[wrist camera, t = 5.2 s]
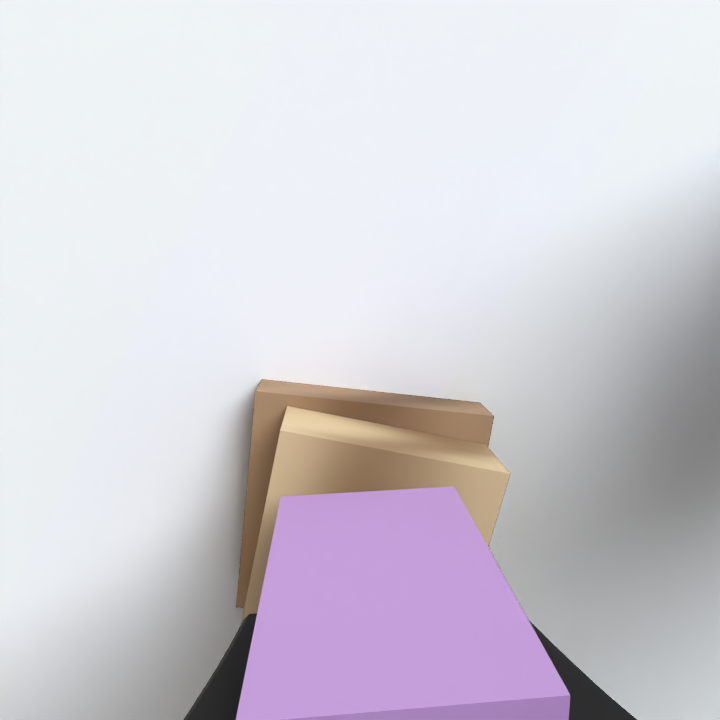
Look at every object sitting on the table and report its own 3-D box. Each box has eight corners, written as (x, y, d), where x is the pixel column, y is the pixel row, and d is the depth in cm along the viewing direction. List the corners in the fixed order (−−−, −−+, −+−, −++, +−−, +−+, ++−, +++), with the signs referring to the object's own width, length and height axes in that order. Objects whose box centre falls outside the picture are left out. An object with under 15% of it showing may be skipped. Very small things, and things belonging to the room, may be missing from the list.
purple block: (454, 486, 11) (570, 695, 6) (452, 634, 12) (553, 938, 7) (280, 496, 11) (235, 723, 6) (291, 647, 12) (259, 971, 6)
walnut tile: (474, 397, 16) (493, 416, 14) (440, 581, 18) (454, 621, 16) (264, 374, 16) (255, 391, 14) (246, 567, 17) (236, 607, 15)
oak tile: (485, 444, 14) (510, 473, 12) (436, 616, 16) (451, 668, 14) (287, 406, 14) (280, 430, 12) (250, 588, 15) (238, 638, 13)
